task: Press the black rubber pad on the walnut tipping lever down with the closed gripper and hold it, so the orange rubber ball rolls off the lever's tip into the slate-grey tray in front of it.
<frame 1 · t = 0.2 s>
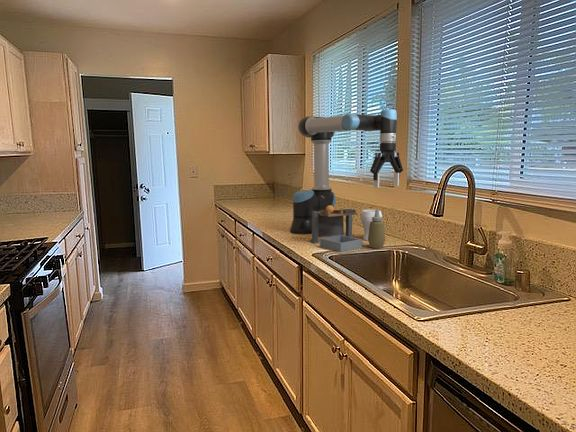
hand: (386, 186, 205), 28 cm above the worktop, tool pointing down, fingers open, 13 cm apart
squeeze bottle: (376, 247, 198), on the worktop
cup: (370, 239, 216), on the worktop
ball: (329, 209, 207), point 17 cm above the worktop, tilted 19°, touching tipping lever
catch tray: (340, 247, 199), on the worktop
lever stand: (332, 240, 215), on the worktop
tipping lever: (334, 223, 211), point 9 cm above the worktop, hinge at -4.0°, touching ball
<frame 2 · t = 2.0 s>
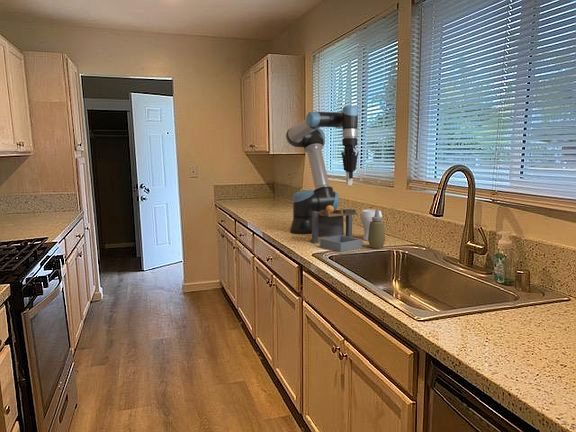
hand: (349, 184, 213), 28 cm above the worktop, tool pointing down, fingers closed
nothing on the worktop moved.
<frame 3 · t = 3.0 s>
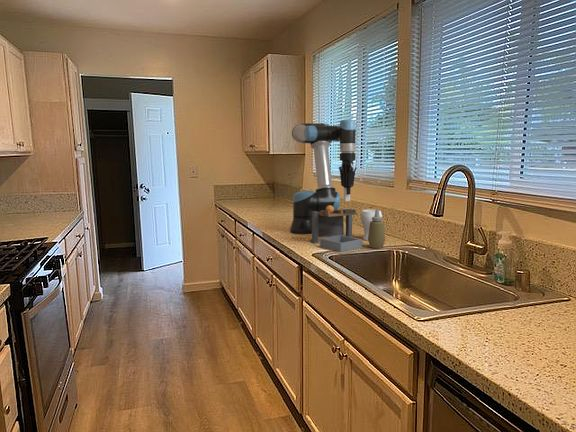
hand: (347, 200, 206), 21 cm above the worktop, tool pointing down, fingers closed
nothing on the worktop moved.
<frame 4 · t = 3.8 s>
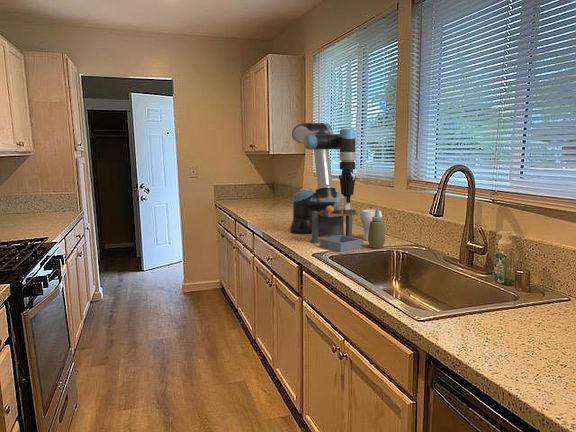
hand: (346, 209, 207), 17 cm above the worktop, tool pointing down, fingers closed
tipping lever: (334, 223, 211), point 9 cm above the worktop, hinge at -3.2°, touching ball, gripper
everything else where it was.
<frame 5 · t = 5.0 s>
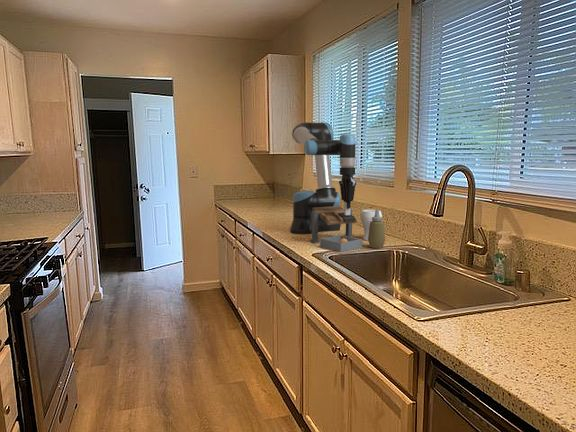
hand: (347, 214, 207), 14 cm above the worktop, tool pointing down, fingers closed
ball: (343, 242, 195), point 3 cm above the worktop, tilted 90°, touching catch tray
tipping lever: (332, 223, 213), point 9 cm above the worktop, hinge at 17.6°, touching gripper
everything else where it was.
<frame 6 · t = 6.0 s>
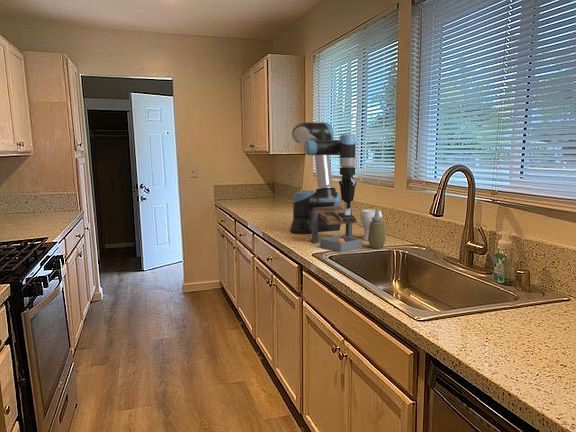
hand: (347, 214, 207), 14 cm above the worktop, tool pointing down, fingers closed
ball: (340, 242, 195), point 3 cm above the worktop, tilted 65°, touching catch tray
everything else where it was.
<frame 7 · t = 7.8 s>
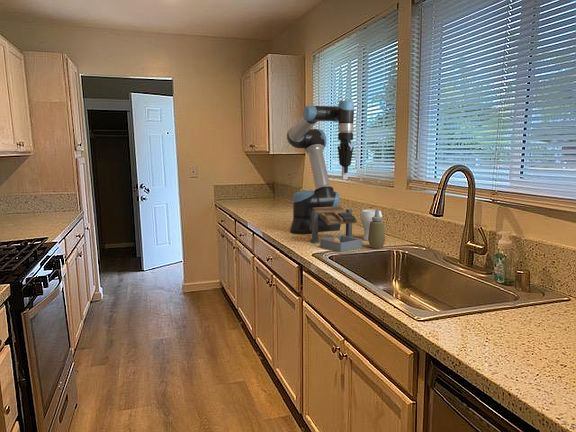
hand: (344, 179, 215), 31 cm above the worktop, tool pointing down, fingers closed
ball: (335, 242, 196), point 3 cm above the worktop, tilted 50°, touching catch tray
tipping lever: (332, 223, 213), point 9 cm above the worktop, hinge at 17.6°
everything else where it was.
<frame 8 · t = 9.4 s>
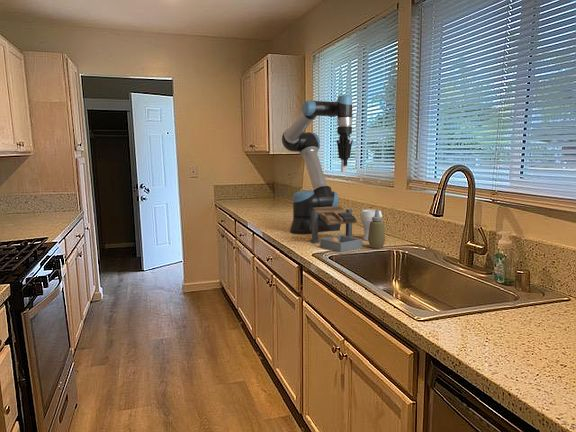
hand: (344, 172, 220), 34 cm above the worktop, tool pointing down, fingers closed
at the end: ball inside the target area on the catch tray (3.9 cm from its centre), point 3.0 cm above the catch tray's base; ball touching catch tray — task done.
